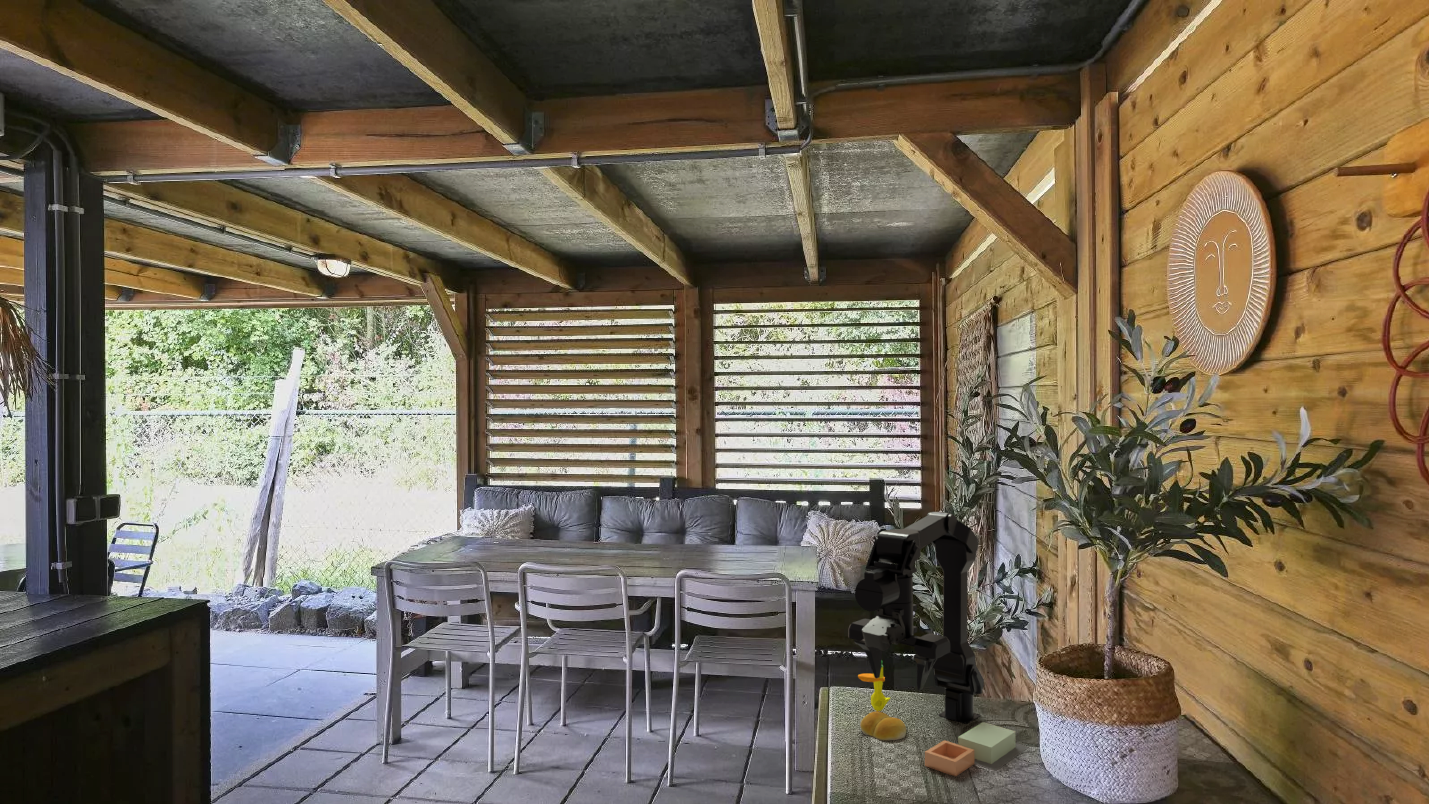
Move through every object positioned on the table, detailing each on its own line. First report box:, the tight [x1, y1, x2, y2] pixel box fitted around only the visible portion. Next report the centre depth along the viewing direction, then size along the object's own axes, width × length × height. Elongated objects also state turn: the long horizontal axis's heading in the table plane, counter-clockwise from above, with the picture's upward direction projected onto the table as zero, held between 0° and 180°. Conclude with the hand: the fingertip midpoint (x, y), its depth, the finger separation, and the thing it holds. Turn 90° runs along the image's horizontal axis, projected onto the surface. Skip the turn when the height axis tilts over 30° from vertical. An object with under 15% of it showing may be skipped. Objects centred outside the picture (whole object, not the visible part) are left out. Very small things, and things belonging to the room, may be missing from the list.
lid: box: [957, 721, 1017, 764], centre depth 149 cm, size 10×6×3 cm, turn 135°
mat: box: [974, 742, 1030, 772], centre depth 149 cm, size 14×10×1 cm
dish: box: [924, 739, 975, 777], centre depth 143 cm, size 7×6×3 cm
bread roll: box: [859, 710, 907, 741], centre depth 159 cm, size 8×9×4 cm
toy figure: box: [857, 660, 891, 712], centre depth 167 cm, size 7×4×12 cm, turn 76°
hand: (898, 683), depth 147 cm, fingers open, 9 cm apart
